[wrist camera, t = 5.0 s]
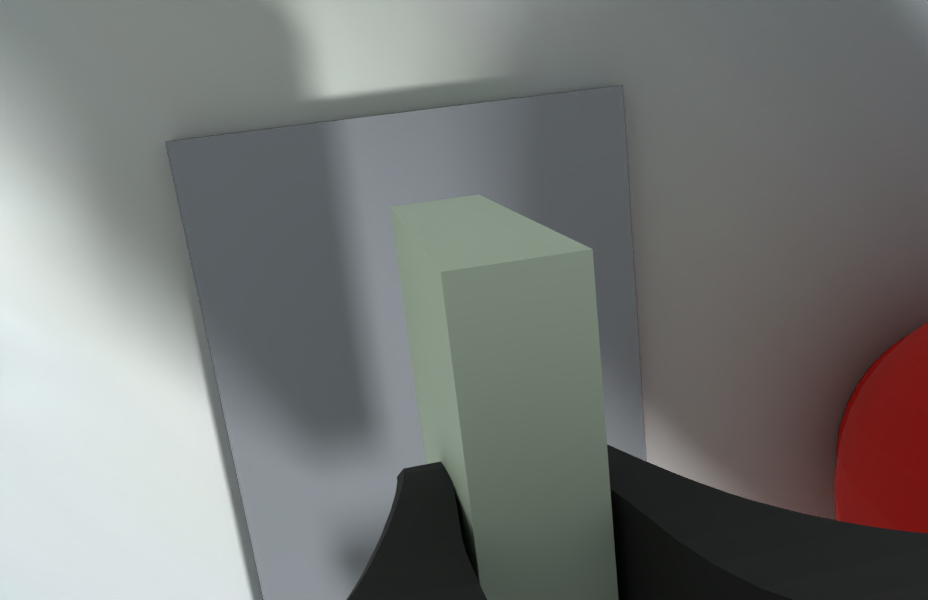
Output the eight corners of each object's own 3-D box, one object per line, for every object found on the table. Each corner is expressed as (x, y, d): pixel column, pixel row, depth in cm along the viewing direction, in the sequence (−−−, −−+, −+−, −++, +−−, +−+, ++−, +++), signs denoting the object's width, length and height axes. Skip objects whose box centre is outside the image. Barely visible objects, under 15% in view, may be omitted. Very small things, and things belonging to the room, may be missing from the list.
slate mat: (614, 86, 18) (622, 85, 17) (644, 541, 21) (652, 551, 20) (170, 140, 16) (165, 141, 16) (272, 620, 19) (270, 633, 19)
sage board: (479, 194, 14) (592, 248, 8) (526, 624, 16) (642, 910, 10) (390, 206, 13) (441, 272, 8) (450, 640, 16) (525, 944, 10)
